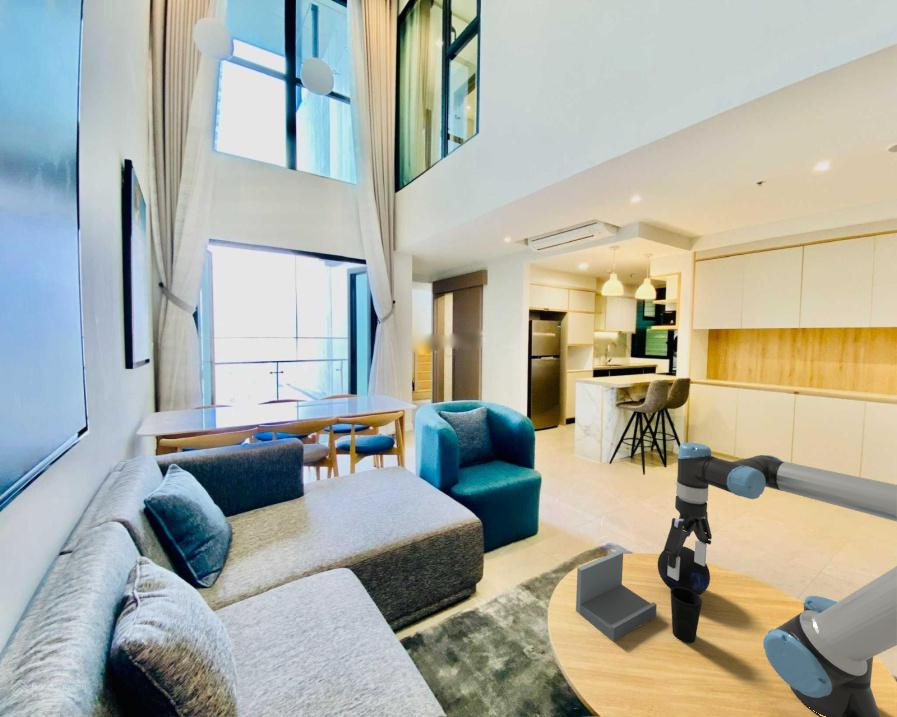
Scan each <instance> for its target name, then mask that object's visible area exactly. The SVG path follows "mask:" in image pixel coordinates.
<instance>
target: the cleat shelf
mask: <svg viewBox="0 0 897 717" xmlns="http://www.w3.org/2000/svg"><path fill="white" fill-rule="evenodd" d="M623 561H624V552H622V551H621V550H617V551H615V552H612V553H610V554H608V555H605V556H603V557H600V558H598V559H596V560H593V561H591V562H589V563H588V562H587V563H586V564H583V565H581V566H579V567H577V574H576V594H575V596H576V599H575V601H576V602H575V611H576V612H577V613H578V614H579V615H580V616H582V618H584V619H585V620H587V621H588V622H589V623H590V624H591V625H592V626H594V627H595V628H596V629H597V630H599V632H601V633H602V634H603V635H604V636H606V637H607V638H609V640H611V641H612V642H615V641H617V640H619V639H620V638H622V637H624V636H625V635H627V634H628V633H631V632H632V631H634V630H636V629H637V628H640V627H641V626H642V624H643V625H644V624H646V623H648V622H649V621H651V620H653V619H655V618H656V617H657V603H655V602H654V601H653V602H649V601H648V600H646V599H644V598H643V597H642V596H640V595H639V594H637V593H635V592H634V591H632V590H631V589H629V588H628V587H626V586H624V585H623V566H624V565H623V563H624V562H623ZM647 621H648V622H647ZM645 622H646V623H645ZM640 625H641V626H640Z"/></svg>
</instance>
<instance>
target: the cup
mask: <svg viewBox="0 0 897 717" xmlns="http://www.w3.org/2000/svg"><path fill="white" fill-rule="evenodd" d="M669 592H670V608H671V609H670V610H671V628H672V629H671V630H672V634H673V636H674V637H675V638H676V639H677V640H679V641H680V642H683V643H686V644H694V643H695V641H696V637H697V631H698V625H699V619H700V616H701V610H702V604H703V600H702V598H701V597H700V595H697V594H696V593H694V592H693V591H691V590H689V589H686V588H681V587H675V588H672V589H670V591H669Z"/></svg>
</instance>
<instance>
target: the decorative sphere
mask: <svg viewBox="0 0 897 717" xmlns="http://www.w3.org/2000/svg"><path fill="white" fill-rule="evenodd" d="M694 555H695V550H693V549H692V548H690V547H687V546H684V545H683V547H682V549H681V551H680V553H679V555H678V556H679V557H680V567H679V580H678V581H677V580H675V579H673V578H671V577H670V576H668V575H667V572H668V555H667V554H665V553H663V550H662V551H661V553H660V554H659V556H658V559H657V570H658V574H659V576H660V579H661V580H662V582H664V584H665V585H666V586H667V587H668V589H670V590H671V589H672V588H675V587H681V588H686V589H689V590H691V591H693V592H694V593H696V594H697V595H698V596H700V595H702V594H703V593H704V592H705V591H707V589H708V587H709V586H710V583H711V574H710V570H709V567H708V564H707V563H706V562H705V566H702V565H700V564H698V563H696V562H694Z"/></svg>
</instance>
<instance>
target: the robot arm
mask: <svg viewBox="0 0 897 717" xmlns="http://www.w3.org/2000/svg"><path fill="white" fill-rule="evenodd" d="M678 449H679V450H678V455H677V476H676V482H675V485H676V492H675V493H676V496H675V503H674V505H675V506H674V508H675V510H676V511H677V512H678V513H679V516H678V518H674V517H673V518H672V519H671V526H670V528H669V533H668V535H667V538H666V541H665V545H664V547H663V550H662V551H663V553H665V554H667V555H668V572H667V575H668V576H670V577H671V578H673V579H675V580H677V581H678V580H679V567H680V557H679V556H678V555H679V553H680V551H681V549H682V547H683V546H684V544H685V542H686V540H687V538H688V537H690V536H691V534H692V532H693V533H694V535H695V536H696V539H695V541H694V542H695V543H694V551H695V555H694V562H696V563H698V564H700V565H702V566H705V563H706V559H707V547H708V546H707V544H708V545H711V544H712V536H713V535H712V531H711V527H710V524H709V523H710V522H709V520H708V515H709V514H708V513H709V512H708V501H709V485H710V486H712V487H714V488H718V489H720V490H723V491H726V492H727V493H728V492H729V493H731V494H733V495H736V496H738V497H743V498H746V499H749V500H756V499H758V498H760V497H761V495H763V494H764V491H765V488H769V489H773V490H776V491H780V492H786V493H789V494H792V495H796V496H800V497H803V498H807V499H811V500H815V501H818V502H822V503H825V504H826V503H827V504H830V505H833V506H838V507H841V508H845V509H848V510H853V511H855V512H856V511H857V512H860V513H863V514H867V515H871V516H875V517H879V518H881V519H882V518H883V519H886V520H889V521H893V522H897V484H895V483H889V482H886V481H880V480H875V479H869V478H866V477H861V476H856V475H851V474H847V473H843V472H842V473H841V472H836V471H831V470H828V469H827V470H826V469H820V468H817V467H811V466H807V465H802V464H797V463H792V462H788V461H783V460H781V459H780V458H778V457H777V456H774V455H771V454H770V455H769V454H764V455H762V454H760V455H755V456H751V457H747V458H743V459H738V460H734V461H730V460H726V459H722V458H719V457H715V456H713V455H712V450H711V448H710V447H709V446H708V445H705V444H701V443H698V442H683V443H681V444H680V445H679V448H678ZM802 605H803V611H802V612H800V613H799V614H797V615H796V616H793V617H792V618H790V619H789V620H788V621H786V622H785V623H783V624H780V625H779V626H778V627H776V628H772V629H770V630H769V631H768V632H767V633H766V635H765V636H764V637H763V641H762V642H763V643H762V645H763V649H764V653H765V656H766V658H767V660H768V663H769V664H770V665H771V667H772V669H773V670H774V671H775V672H776V674H777V675H778V676H779V677H780V678H781V679H782V680H783V681H784V682H785V683H786V684H787V685H789V687H790V689H791V692H793V694H794V695H795V696H796V698H799V699H800V700H801V701H802V702H803V703H804V704H803V703H802V702H801V701H800V700H799V699H798V700H799V701H800V702H801V703H802V704H803V705H805V704H806V705H807V706H808V707H810V708H811V709H812V710H814V711H815V712H817V713H819V714H821V715H823V716H826V717H881V716H880V711H879V708H878V705H877V702H876V700H875V697H874V693H873V691H872V687H871V684H872V683H871V682H872V672H873V661H874V657H876V656H878V655H880V654H882V653H883V652H886V651H887V650H890V649H892V648H894V647H896V646H897V565H896V566H894V567H893V568H891V569H890V570H888V571H887V572H885V573H883V574H882V575H879V576H878V577H877V578H875V579H874V580H871V581H870V582H869V583H866V585H863V586H862V587H860V588H859V589H857V590H855V591H854V592H852V593H850V594H849V595H847V596H845V597H844V598H842V599H840V600H838V601H836V600H833V599H830V598H827V597H822V596H818V595H808V596H806V597H805V598H804V602H803V603H802ZM806 705H805V706H806ZM807 706H806V707H807ZM808 707H807V708H808ZM811 709H810V710H811ZM812 710H811V711H812ZM815 712H814V713H815Z"/></svg>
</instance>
